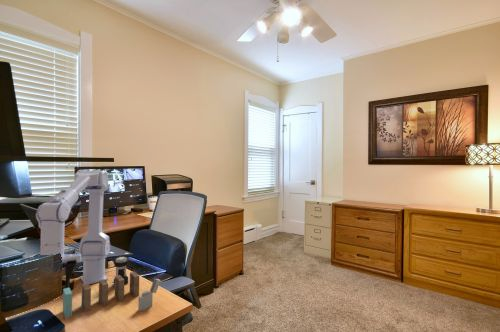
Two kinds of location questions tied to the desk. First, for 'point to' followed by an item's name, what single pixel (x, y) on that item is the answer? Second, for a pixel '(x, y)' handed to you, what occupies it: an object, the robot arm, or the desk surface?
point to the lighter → (148, 296)
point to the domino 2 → (134, 284)
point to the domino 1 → (67, 302)
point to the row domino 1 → (86, 297)
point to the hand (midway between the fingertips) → (51, 288)
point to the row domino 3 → (119, 288)
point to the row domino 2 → (103, 292)
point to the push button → (121, 269)
